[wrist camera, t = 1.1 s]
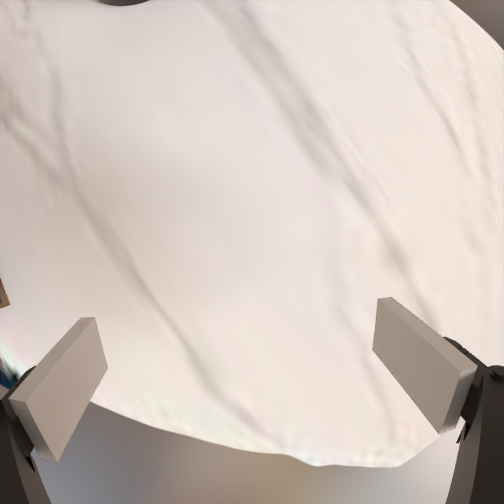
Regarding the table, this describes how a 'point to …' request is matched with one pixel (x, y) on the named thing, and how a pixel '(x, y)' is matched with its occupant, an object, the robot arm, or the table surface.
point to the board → (3, 296)
